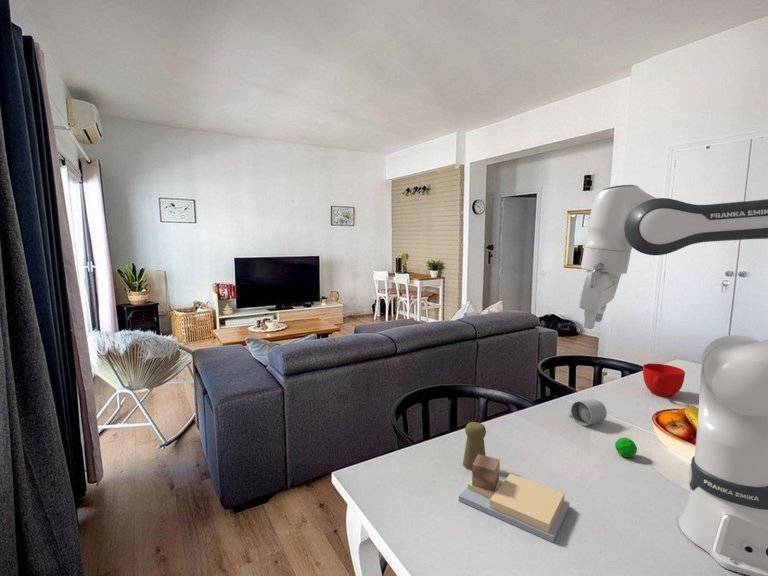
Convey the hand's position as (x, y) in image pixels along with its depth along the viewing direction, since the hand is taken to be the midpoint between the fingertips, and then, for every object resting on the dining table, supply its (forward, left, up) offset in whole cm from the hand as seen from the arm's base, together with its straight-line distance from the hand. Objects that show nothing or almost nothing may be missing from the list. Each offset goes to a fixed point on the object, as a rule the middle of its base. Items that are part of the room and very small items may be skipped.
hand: (593, 324), depth 86 cm
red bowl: (-11, -80, -39) cm, 90 cm away
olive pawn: (+25, +6, -39) cm, 47 cm away
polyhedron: (-6, -23, -39) cm, 46 cm away
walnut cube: (+18, +15, -37) cm, 43 cm away
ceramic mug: (+7, -39, -40) cm, 56 cm away
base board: (+11, +15, -39) cm, 43 cm away
